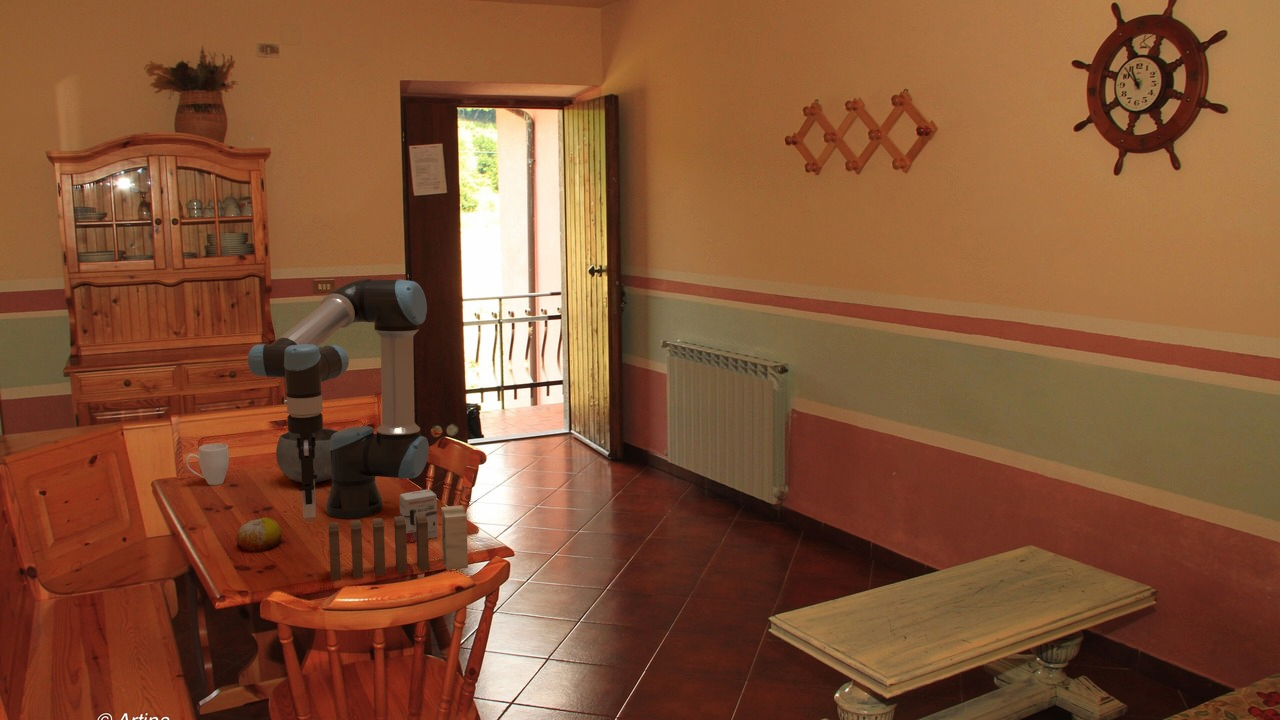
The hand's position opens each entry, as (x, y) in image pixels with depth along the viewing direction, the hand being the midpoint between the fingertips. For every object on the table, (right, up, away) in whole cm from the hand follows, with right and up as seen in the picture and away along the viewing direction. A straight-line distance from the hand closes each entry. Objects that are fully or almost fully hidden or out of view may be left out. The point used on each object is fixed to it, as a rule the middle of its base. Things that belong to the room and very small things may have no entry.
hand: (309, 512), depth 226 cm
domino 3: (+9, -15, +6) cm, 19 cm away
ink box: (+18, -11, +30) cm, 37 cm away
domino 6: (+24, -15, +10) cm, 30 cm away
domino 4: (+14, -15, +7) cm, 22 cm away
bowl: (-24, -2, +77) cm, 81 cm away
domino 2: (+5, -15, +4) cm, 17 cm away
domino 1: (0, -1, 0) cm, 1 cm away
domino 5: (+19, -15, +9) cm, 26 cm away
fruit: (-21, -12, +23) cm, 33 cm away
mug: (-55, -3, +72) cm, 91 cm away
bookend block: (+31, -14, +13) cm, 36 cm away
